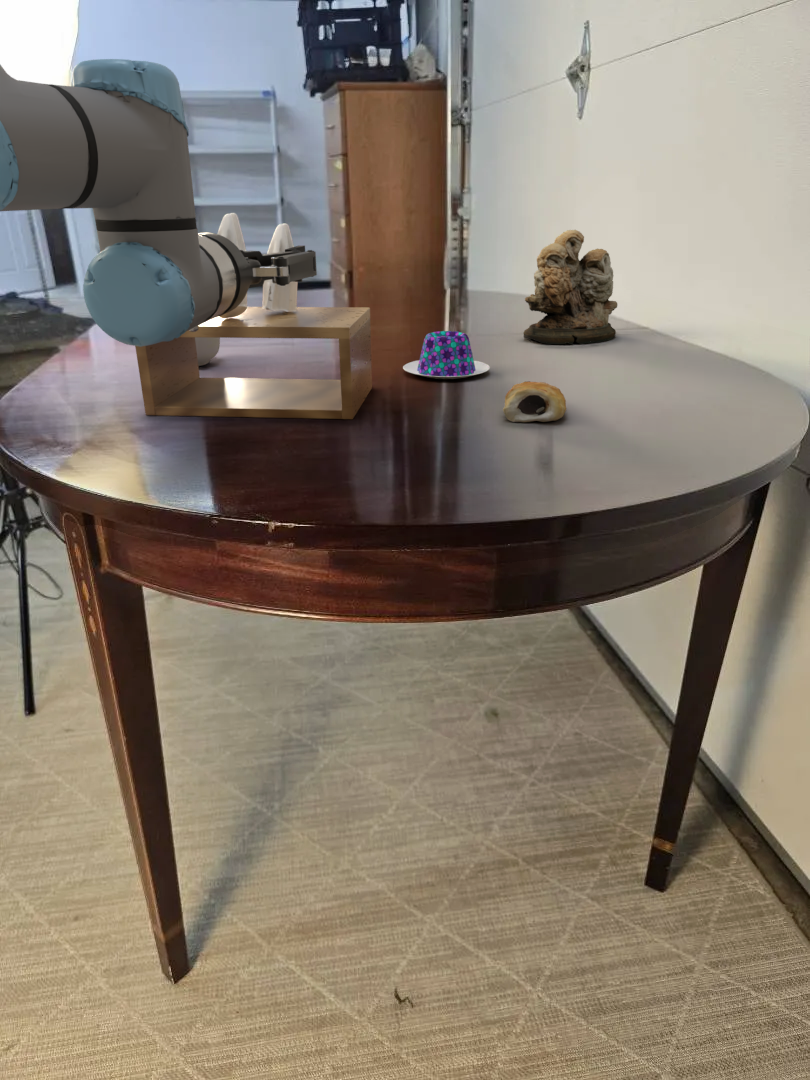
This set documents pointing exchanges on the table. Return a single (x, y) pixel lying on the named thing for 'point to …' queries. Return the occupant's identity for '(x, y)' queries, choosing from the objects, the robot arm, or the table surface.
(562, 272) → the owl figurine
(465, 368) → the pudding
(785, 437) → the table surface
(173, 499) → the table surface
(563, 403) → the pastry
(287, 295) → the shaker set
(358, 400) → the shelf
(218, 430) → the table surface
